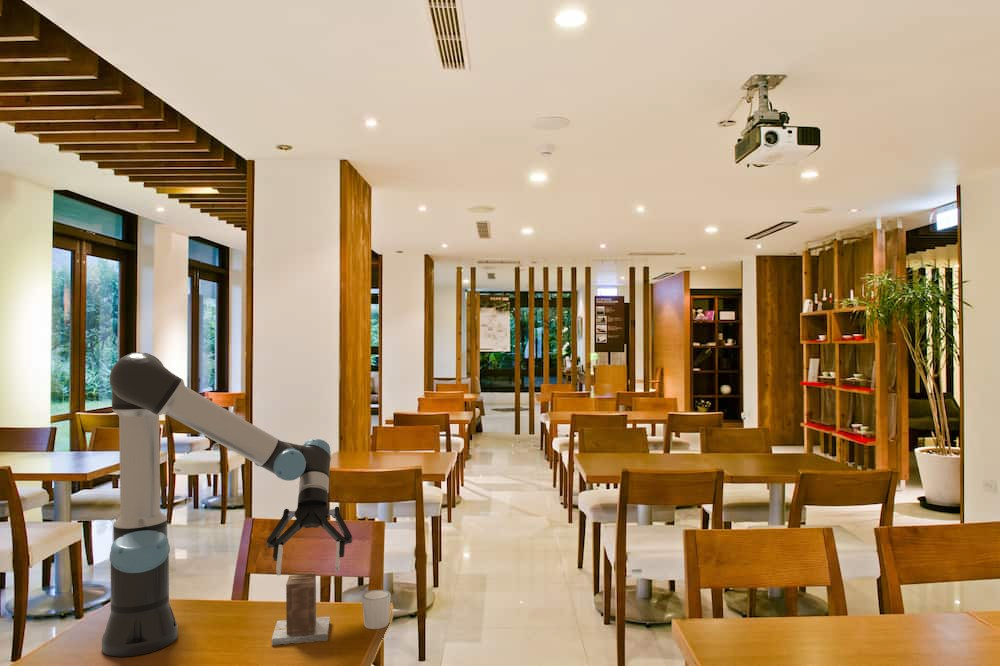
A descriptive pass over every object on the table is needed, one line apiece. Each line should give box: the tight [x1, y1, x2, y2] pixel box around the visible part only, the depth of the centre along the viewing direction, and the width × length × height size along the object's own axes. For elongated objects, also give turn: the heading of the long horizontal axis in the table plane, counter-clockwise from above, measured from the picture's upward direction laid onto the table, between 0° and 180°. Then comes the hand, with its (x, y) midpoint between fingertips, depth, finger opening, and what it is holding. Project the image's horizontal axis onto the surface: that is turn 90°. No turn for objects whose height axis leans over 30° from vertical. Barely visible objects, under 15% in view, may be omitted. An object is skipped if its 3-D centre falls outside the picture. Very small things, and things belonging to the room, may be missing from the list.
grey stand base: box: [271, 616, 331, 646], centre depth 158 cm, size 12×10×6 cm
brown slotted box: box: [285, 573, 317, 634], centre depth 158 cm, size 6×6×11 cm
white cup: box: [361, 589, 392, 630], centre depth 163 cm, size 7×7×7 cm
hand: (307, 571), depth 164 cm, fingers open, 13 cm apart
